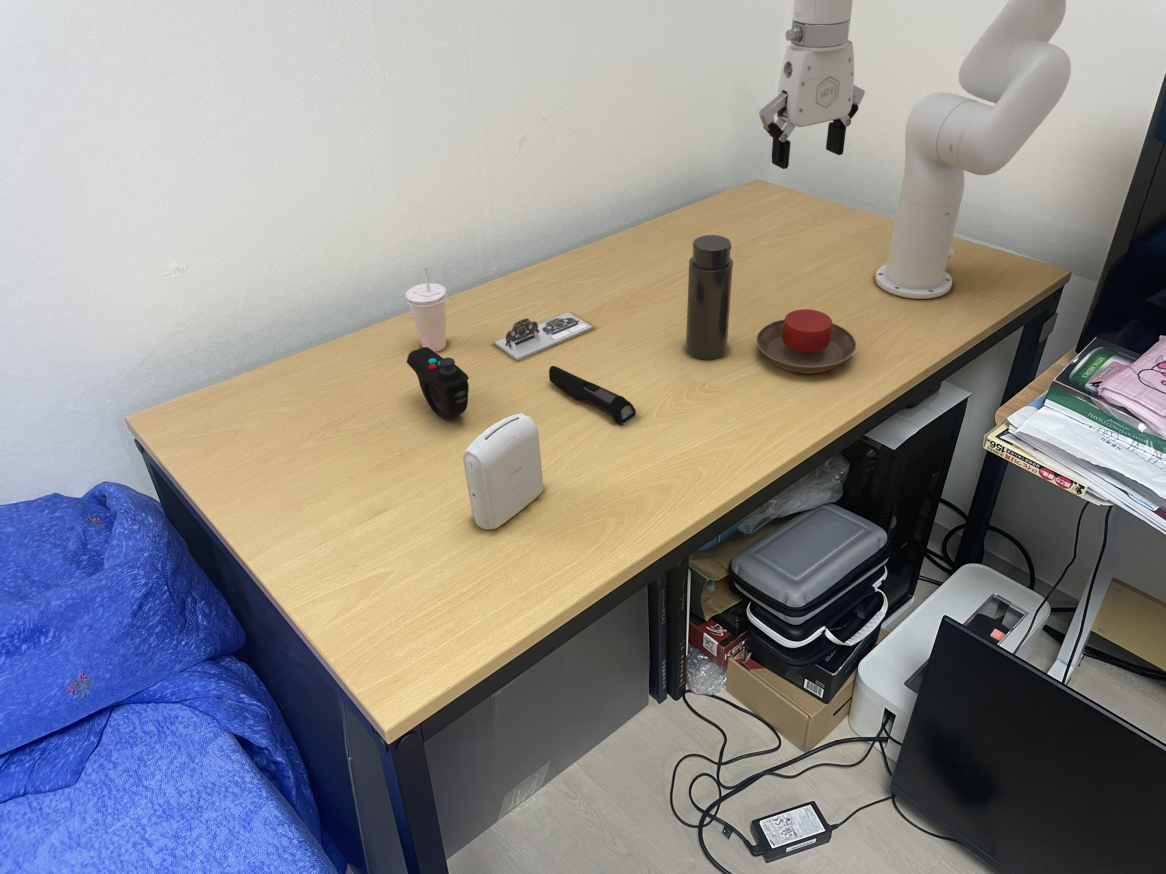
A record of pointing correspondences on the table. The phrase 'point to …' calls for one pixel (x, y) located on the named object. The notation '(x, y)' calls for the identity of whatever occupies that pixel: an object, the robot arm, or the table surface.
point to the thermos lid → (807, 330)
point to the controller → (440, 382)
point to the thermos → (709, 297)
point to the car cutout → (540, 335)
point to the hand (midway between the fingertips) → (807, 159)
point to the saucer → (805, 362)
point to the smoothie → (429, 312)
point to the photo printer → (503, 470)
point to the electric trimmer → (593, 395)
